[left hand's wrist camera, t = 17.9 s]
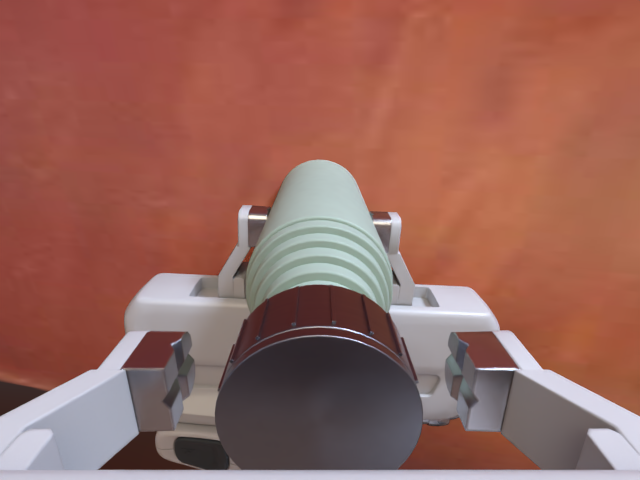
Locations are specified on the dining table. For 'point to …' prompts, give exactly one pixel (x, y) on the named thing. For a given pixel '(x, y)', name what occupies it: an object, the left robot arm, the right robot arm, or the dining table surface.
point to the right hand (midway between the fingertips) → (319, 211)
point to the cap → (319, 386)
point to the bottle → (319, 239)
